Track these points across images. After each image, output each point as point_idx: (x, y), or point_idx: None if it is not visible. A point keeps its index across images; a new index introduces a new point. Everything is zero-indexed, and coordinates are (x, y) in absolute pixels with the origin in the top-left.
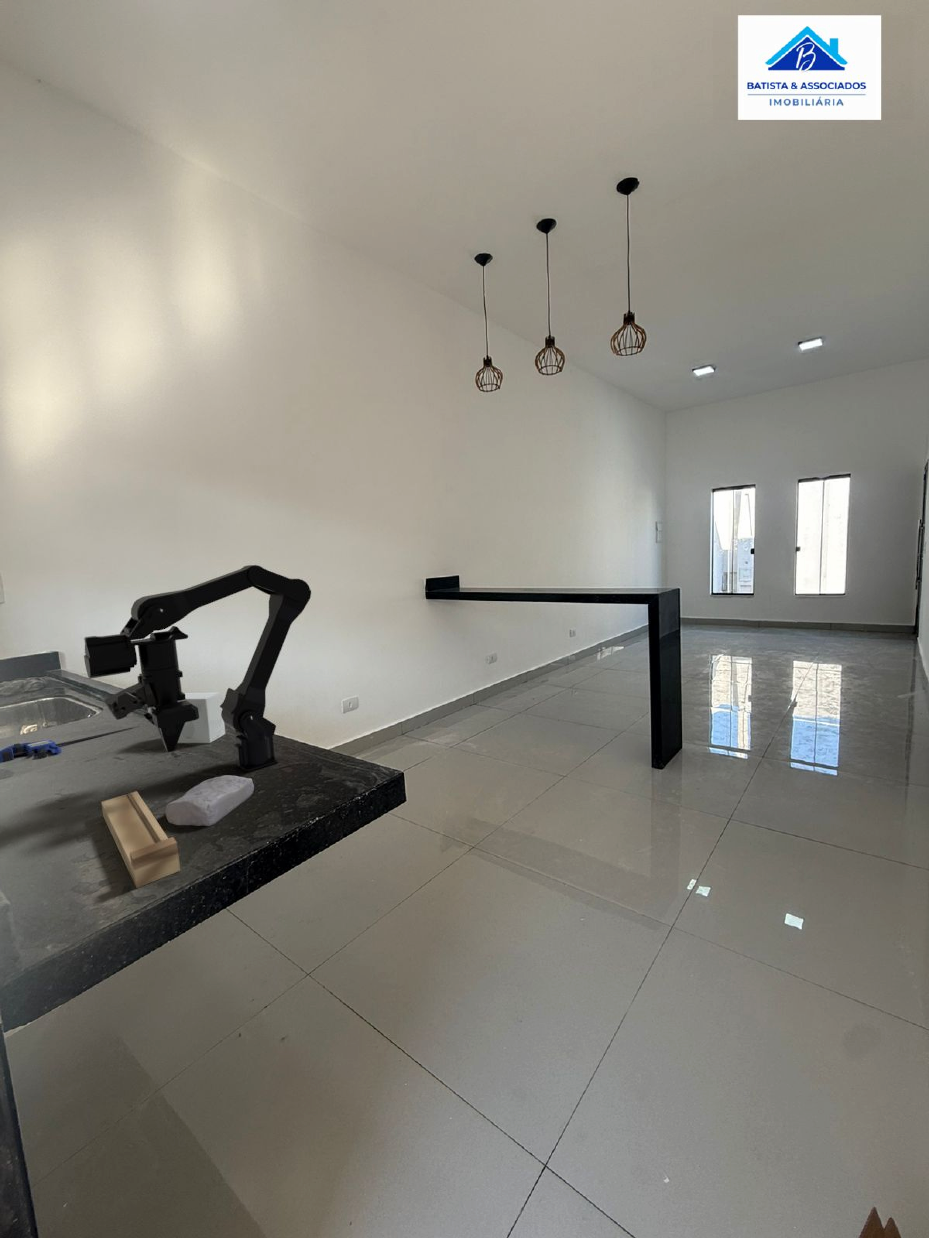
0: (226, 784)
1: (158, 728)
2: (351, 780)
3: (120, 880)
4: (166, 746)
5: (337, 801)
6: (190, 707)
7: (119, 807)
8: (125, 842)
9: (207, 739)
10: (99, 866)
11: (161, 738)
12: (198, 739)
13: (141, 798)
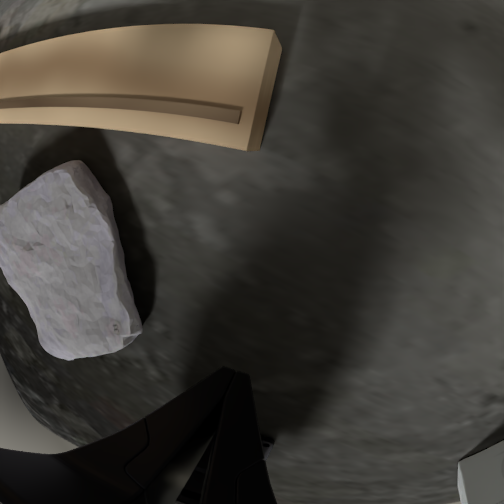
0: (45, 313)
1: (205, 492)
2: (42, 403)
3: (3, 49)
4: (198, 383)
5: (2, 348)
6: None
7: (153, 60)
8: (3, 57)
9: (465, 466)
10: (48, 19)
11: (255, 430)
12: (488, 456)
13: (156, 134)
